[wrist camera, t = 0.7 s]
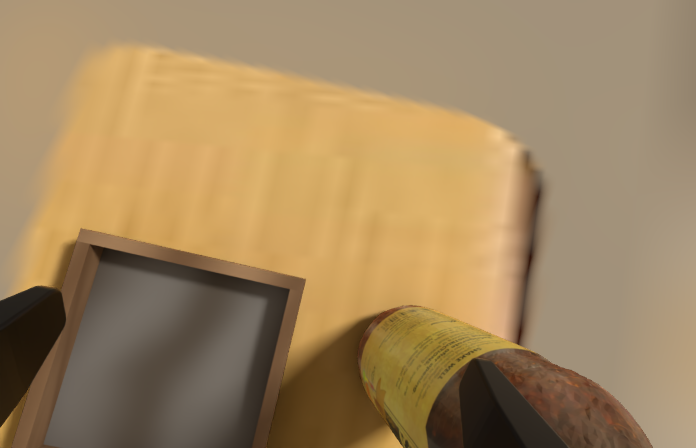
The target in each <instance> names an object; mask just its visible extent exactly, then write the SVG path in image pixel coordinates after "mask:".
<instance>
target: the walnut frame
mask: <svg viewBox="0 0 696 448" xmlns="http://www.w3.org/2000/svg"><path fill="white" fill-rule="evenodd" d="M305 281H306V279H303V278H299V277H294V276H290V275H285V274H281V273H277V272H272V271H268V270H263V269H259V268H255V267H250V266H246V265H241V264H237V263H233V262H228V261H224V260H219V259H215V258H211V257H206V256H202V255H197V254H193V253H189V252H184V251H180V250H175V249H171V248H167V247H162V246H158V245H153V244H149V243H145V242H140V241H136V240H131V239H127V238H123V237H118V236H114V235H109V234H105V233H101V232H96V231H91V230H86V229H80V232H79V235H78V239H77V242H76V245H75V248H74V251H73V254H72V257H71V261H70V264H69V267H68V270H67V273H66V276H65V280H64V283H63V286H62V289H61V292H62V296H63V302H64V307H65V313H66V323H65V326H64V329H63V331H62V332H61V334H60V336H59V337H58V339H57V341H56V342H55V344H54V346H53V348H52V349H51V351H50V353H49V354H48V356H47V358H46V359H45V361H44V363H43V364H42V366H41V368H40V370H39V371H38V373H37V375H36V376H35V378H34V380H33V381H32V384H31V387H30V390H29V393H28V396H27V399H26V402H25V406H24V409H23V412H22V415H21V418H20V421H19V424H18V428H17V431H16V434H15V437H14V440H13V443H12V447H11V448H266V445H267V441H268V437H269V432H270V428H271V424H272V420H273V416H274V411H275V407H276V403H277V399H278V395H279V390H280V386H281V382H282V378H283V374H284V369H285V365H286V361H287V357H288V353H289V348H290V344H291V340H292V336H293V331H294V327H295V323H296V319H297V315H298V310H299V306H300V302H301V298H302V294H303V289H304V285H305Z"/></svg>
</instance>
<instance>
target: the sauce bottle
mask: <svg viewBox="0 0 696 448" xmlns="http://www.w3.org/2000/svg"><path fill="white" fill-rule="evenodd" d="M472 358H482V359H488V360H490V361H492V362H493V363H494V364H495V365H496V366H497V367H498V368H499V370H500V371H501V372H502V373H503V374H504V375H505V376H506V377H507V378H508V380H509V381H510V382H511V383H512V384H513V385H514V386H515V387H516V389H517V390H518V391H519V392H520V393H521V394H522V395H523V396H524V397H525V399H526V400H527V401H528V402H529V403H530V404H531V405H532V406H533V408H534V409H535V410H536V411H537V412H538V413H539V414H540V415H541V416H542V418H543V419H544V420H545V421H546V422H547V423H548V424H549V425H550V426H551V428H552V429H553V430H554V431H555V432H556V433H557V434H558V435H559V437H560V438H561V439H562V440H563V441H564V442H565V443H566V444H567V445H568V447H569V448H653V447H652V445H651V444H650V442H649V440H648V438H647V436H646V435H645V434H644V432H643V430H642V429H641V428H640V426H639V425H638V424H637V422H636V421H635V420H634V418H633V417H632V416H631V414H630V413H629V412H628V411H627V410H626V409H625V408H624V407H623V405H622V404H621V403H620V402H619V401H618V400H616V399H615V398H614V397H613V396H612V395H611V394H610V393H609V392H607V391H606V390H605V389H603V388H602V387H601V386H600V385H599V384H597V383H595V382H593V381H592V380H589V379H587V378H586V377H583V376H581V375H579V374H578V373H576V372H574V371H572V370H569V369H565V368H561V367H559V366H558V365H555V364H552V363H551V362H550V361H548V360H547V359H546V358H544V357H542V356H541V355H539V354H537V353H535V352H533V351H531V350H528V349H526V348H524V347H522V346H519V345H517V344H514V343H512V342H510V341H507V340H505V339H503V338H500V337H498V336H495V335H493V334H491V333H488V332H486V331H484V330H481V329H479V328H476V327H474V326H472V325H469V324H467V323H464V322H462V321H460V320H457V319H455V318H452V317H450V316H448V315H445V314H443V313H441V312H438V311H435V310H433V309H430V308H425V307H421V306H412V305H409V306H401V307H397V308H394V309H390V310H387V311H385V312H383V313H381V314H380V315H379V316H378V317H377V318H376V319H374V320H373V321H372V323H371V324H370V325H369V327H368V328H367V329H366V331H365V332H364V335H363V337H362V339H361V340H360V344H359V347H358V366H359V370H360V378H361V380H362V383H363V386H364V389H365V391H366V393H367V395H368V397H369V398H370V400H371V401H372V403H373V404H374V406H375V407H376V409H377V410H378V412H379V413H380V415H381V416H382V417H383V419H384V420H385V422H386V423H387V425H388V426H389V427H390V429H391V430H392V432H393V433H394V435H395V436H396V438H397V439H398V440H399V442H400V444H401V445H402V446H403V448H463V438H462V425H461V412H460V400H459V385H460V381H461V379H462V377H463V375H464V372H465V370H466V368H467V366H468V364H469V362H470V360H471V359H472Z"/></svg>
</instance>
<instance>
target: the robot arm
mask: <svg viewBox="0 0 696 448" xmlns="http://www.w3.org/2000/svg"><path fill="white" fill-rule="evenodd" d="M65 323H66V313H65V307H64V302H63V296H62V292H61V291H60V290H59V289H57V288H53V287H47V286H35V287H33V288H30V289H28V290H25V291H23V292H20V293H18V294H16V295H13V296H11V297H8V298H6V299H3V300H1V301H0V427H1V426H2V425H3V423H4V422H5V421H6V419H7V418H8V416H9V415H10V414H11V412H12V411H13V410H14V408H15V407H16V406H17V404H18V403H19V401H20V400H21V398H22V397H23V396H24V394H25V393H26V391H27V389H28V388H29V386H30V385H31V383H32V381H33V380H34V378H35V376H36V375H37V373H38V371H39V370H40V368H41V366H42V364H43V363H44V361H45V359H46V358H47V356H48V354H49V353H50V351H51V349H52V348H53V346H54V344H55V342H56V341H57V339H58V337H59V336H60V334H61V332H62V331H63V329H64V326H65ZM459 400H460V412H461V425H462V438H463V448H569V447H568V445H567V444H566V443H565V442H564V441H563V440H562V439H561V438H560V437H559V435H558V434H557V433H556V432H555V431H554V430H553V429H552V428H551V426H550V425H549V424H548V423H547V422H546V421H545V420H544V419H543V418H542V416H541V415H540V414H539V413H538V412H537V411H536V410H535V409H534V408H533V406H532V405H531V404H530V403H529V402H528V401H527V400H526V399H525V397H524V396H523V395H522V394H521V393H520V392H519V391H518V390H517V389H516V387H515V386H514V385H513V384H512V383H511V382H510V381H509V380H508V378H507V377H506V376H505V375H504V374H503V373H502V372H501V371H500V370H499V368H498V367H497V366H496V365H495V364H494V363H493V362H492V361H490V360H488V359H482V358H472V359H471V360H470V362H469V364H468V366H467V368H466V370H465V372H464V375H463V377H462V379H461V381H460V385H459Z"/></svg>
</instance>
